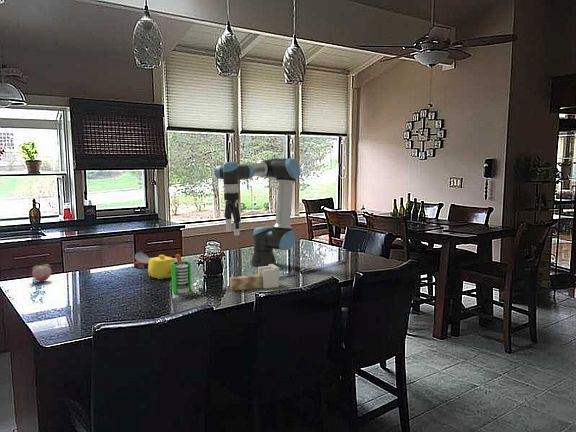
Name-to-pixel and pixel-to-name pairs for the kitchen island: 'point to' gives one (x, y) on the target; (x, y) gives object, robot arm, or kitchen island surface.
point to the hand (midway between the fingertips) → (232, 233)
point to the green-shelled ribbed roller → (181, 275)
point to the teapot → (160, 267)
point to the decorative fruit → (41, 272)
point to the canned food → (141, 260)
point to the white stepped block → (269, 275)
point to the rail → (246, 282)
